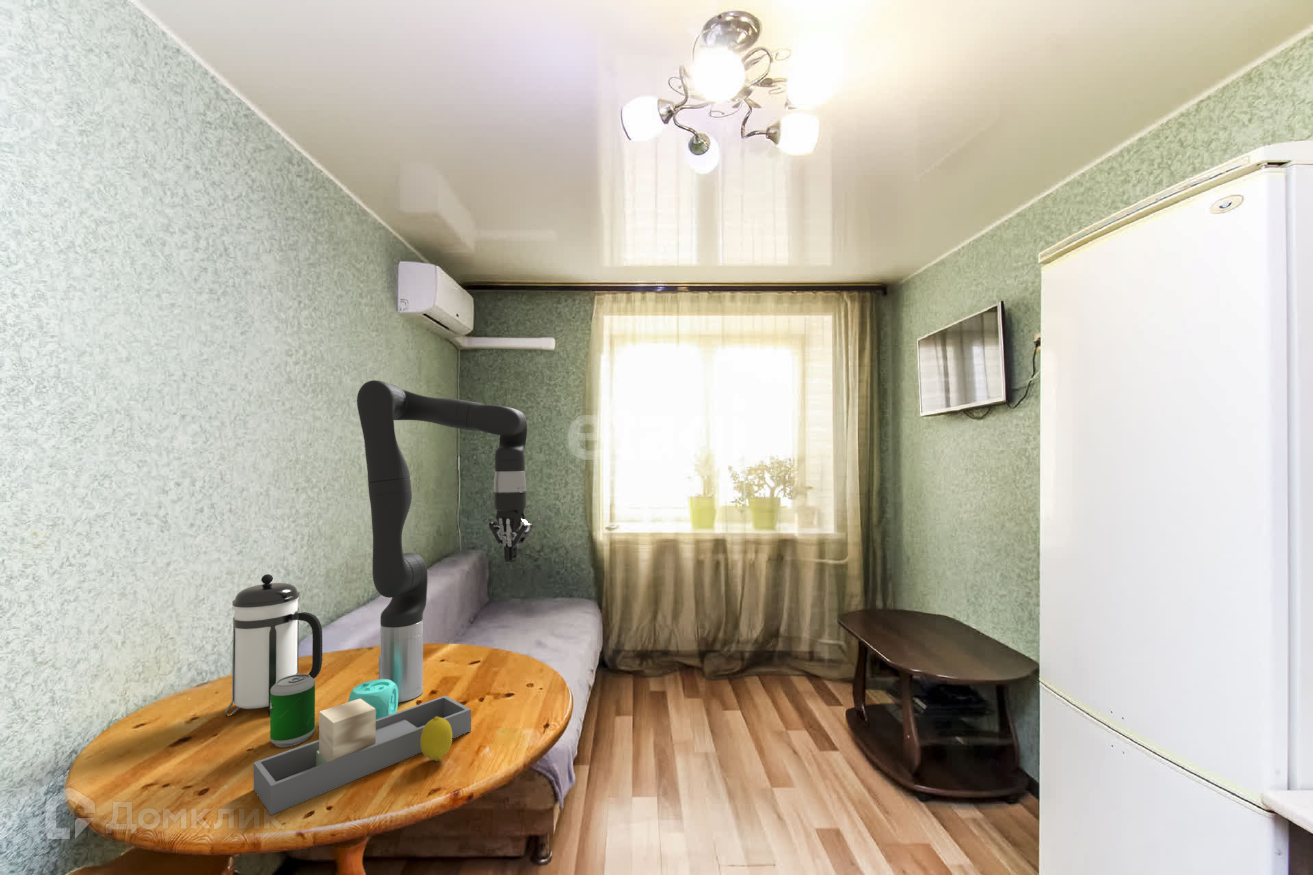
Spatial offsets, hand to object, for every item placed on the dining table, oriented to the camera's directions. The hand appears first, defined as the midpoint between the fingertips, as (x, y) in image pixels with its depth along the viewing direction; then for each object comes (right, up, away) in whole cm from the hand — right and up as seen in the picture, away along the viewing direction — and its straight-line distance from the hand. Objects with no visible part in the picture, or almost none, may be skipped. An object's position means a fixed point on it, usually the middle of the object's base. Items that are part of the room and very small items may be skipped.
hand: (510, 561), depth 133 cm
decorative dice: (-25, -31, -16) cm, 43 cm away
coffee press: (-54, -32, -5) cm, 63 cm away
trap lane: (-18, -30, -30) cm, 46 cm away
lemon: (-6, -30, -31) cm, 43 cm away
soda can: (-38, -31, -22) cm, 54 cm away
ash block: (-21, -27, -33) cm, 48 cm away
